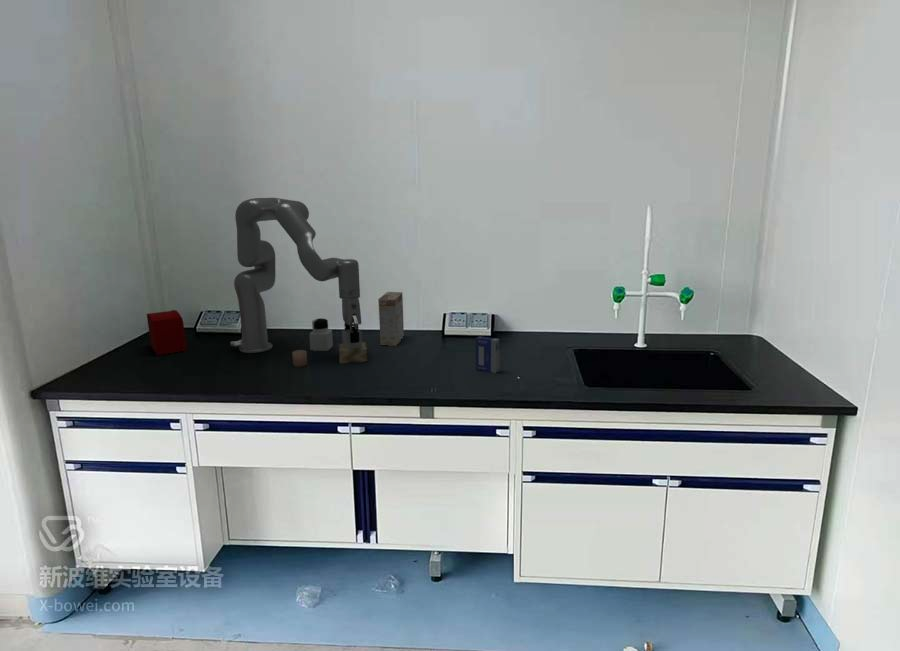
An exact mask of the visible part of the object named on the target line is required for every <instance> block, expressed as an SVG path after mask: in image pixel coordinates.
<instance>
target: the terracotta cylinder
mask: <svg viewBox="0 0 900 651" xmlns="http://www.w3.org/2000/svg"><path fill="white" fill-rule="evenodd" d="M307 353H308V352H307V350H305V349H297V350H294V351H292V352H291V354H292V364H293V365H294V366H299V367H298V368H301V367H300V366H304V367H306V366H305V365H307V366H308V357H307V356H308V354H307ZM294 366H293V367H294Z"/></svg>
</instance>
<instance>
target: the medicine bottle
mask: <svg viewBox="0 0 900 651" xmlns="http://www.w3.org/2000/svg"><path fill="white" fill-rule="evenodd" d="M311 323H312V331H311V332H310V333H309V334H308V335H309V348H310V351H311V350H313V351H312V352H328V351H329V350H331V349H332V347H333V346H334V343H333V342H334V341H333V329H331V328H330V329H329V321H328V319H326V318H321V317H320V318H316V319H313V320H312V321H311Z"/></svg>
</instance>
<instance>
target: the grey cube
mask: <svg viewBox="0 0 900 651" xmlns="http://www.w3.org/2000/svg"><path fill="white" fill-rule="evenodd" d="M350 332H351V330H350V329H347V330H345V329H342V330H341V337H342V339H341V340H342V341H341V342H342V344H343V346H344V347H345V349H346V350H347V349H355V348H362V342H363V336H362V335H363V334H362V332H363V331H361V330H360V329H359V342H357V343H351V342H350Z"/></svg>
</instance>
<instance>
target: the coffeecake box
mask: <svg viewBox="0 0 900 651" xmlns="http://www.w3.org/2000/svg"><path fill="white" fill-rule="evenodd" d="M377 300H378V319H379V339H380V340H379V341H380V342H379V343H380V345H388V346H387V347H397V346H398V345H399V344H400V342H401V341H402V340H403V338H404V337H405V330H404V327H405V326H404V324H405V323H404V302H403V300H404V298H403V292H402V291H401V292H399V291H387V292H385V293H384V294H383V295H382V296H380V297H379V298H378V299H377ZM403 336H404V337H403ZM401 339H402V340H401ZM397 344H398V345H397Z"/></svg>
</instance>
